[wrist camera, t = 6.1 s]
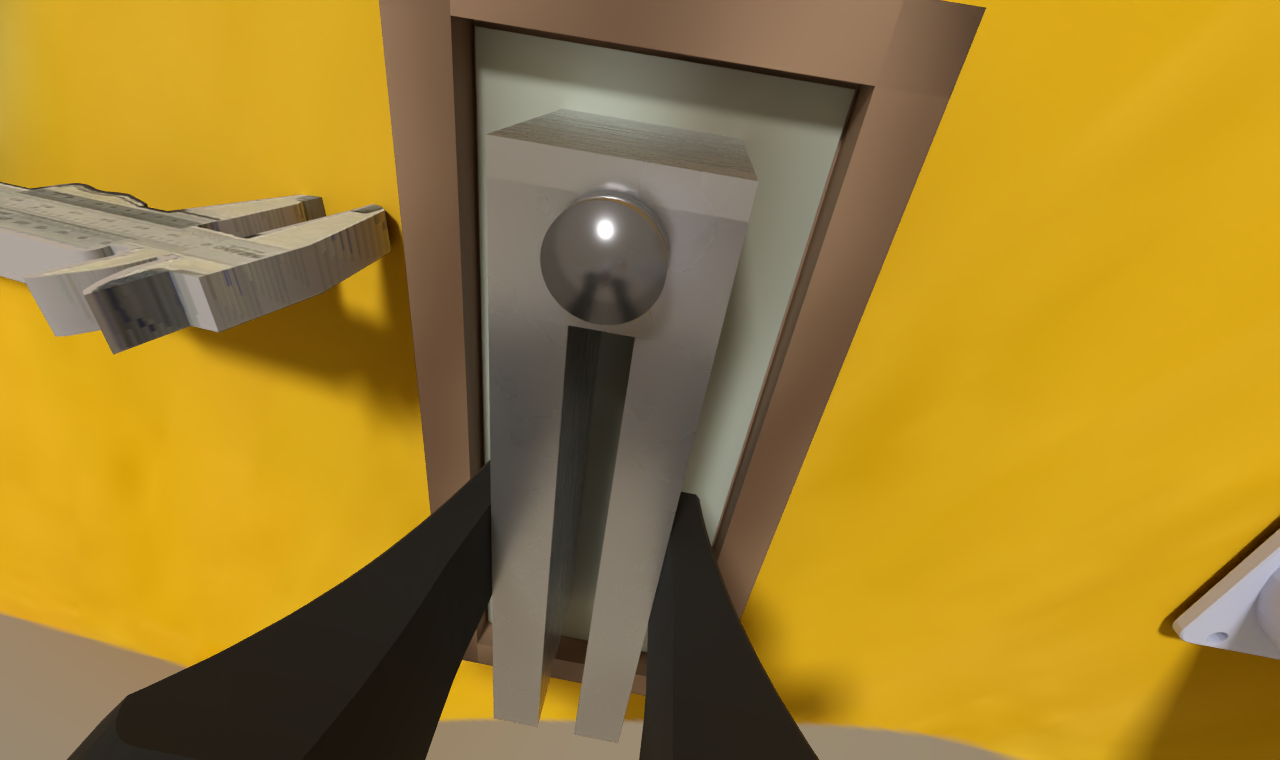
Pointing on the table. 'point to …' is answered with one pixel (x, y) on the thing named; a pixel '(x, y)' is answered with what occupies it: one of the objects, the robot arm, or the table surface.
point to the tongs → (567, 367)
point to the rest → (773, 245)
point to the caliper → (175, 258)
